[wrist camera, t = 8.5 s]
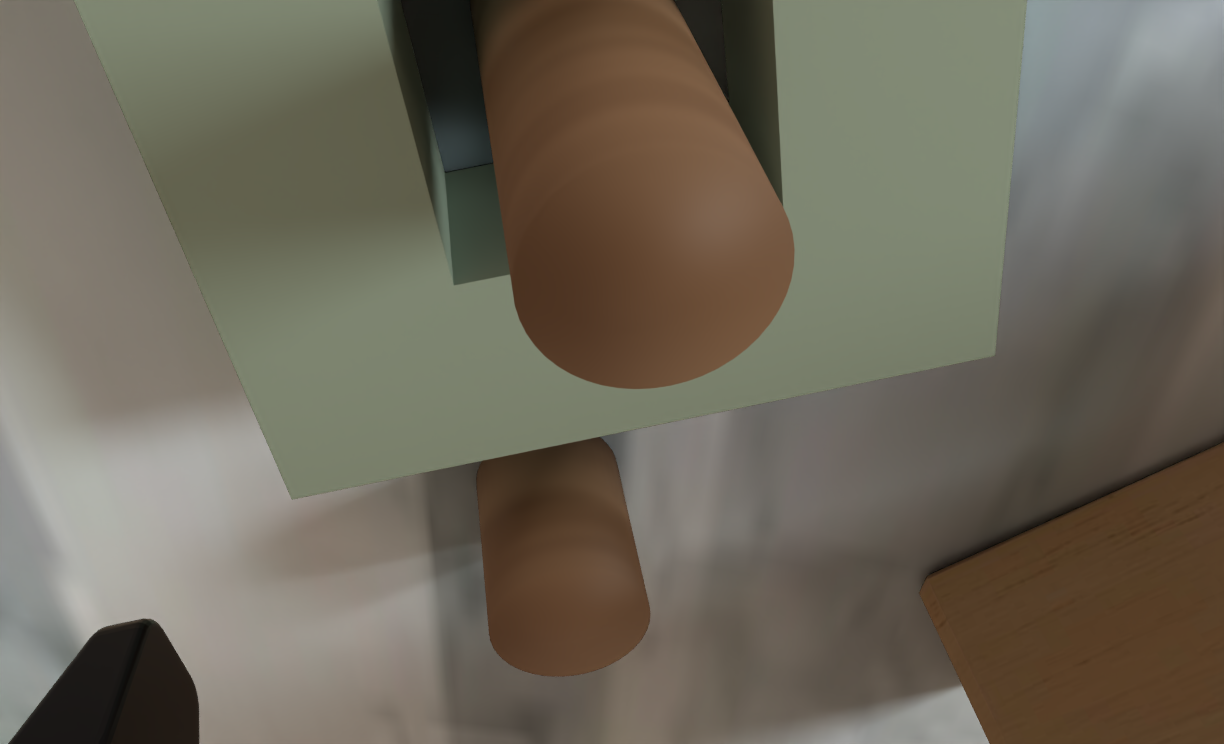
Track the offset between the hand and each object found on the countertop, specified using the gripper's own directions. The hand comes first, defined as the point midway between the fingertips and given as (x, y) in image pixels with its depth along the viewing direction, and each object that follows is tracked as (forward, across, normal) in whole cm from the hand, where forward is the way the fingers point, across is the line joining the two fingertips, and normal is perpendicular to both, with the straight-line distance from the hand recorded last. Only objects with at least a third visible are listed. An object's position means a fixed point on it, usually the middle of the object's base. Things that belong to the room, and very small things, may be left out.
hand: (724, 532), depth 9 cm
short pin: (+12, +2, +10) cm, 16 cm away
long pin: (+12, 0, 0) cm, 12 cm away
